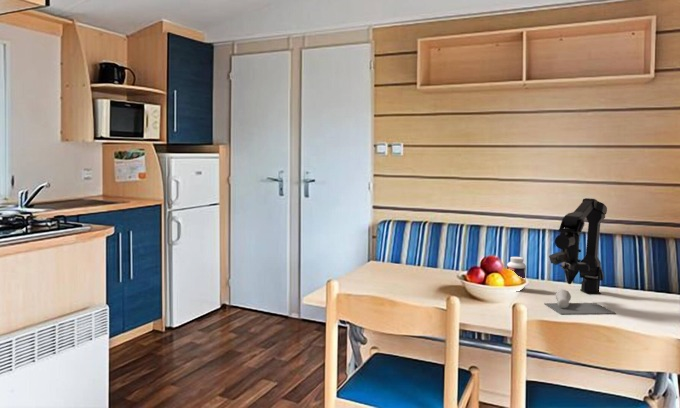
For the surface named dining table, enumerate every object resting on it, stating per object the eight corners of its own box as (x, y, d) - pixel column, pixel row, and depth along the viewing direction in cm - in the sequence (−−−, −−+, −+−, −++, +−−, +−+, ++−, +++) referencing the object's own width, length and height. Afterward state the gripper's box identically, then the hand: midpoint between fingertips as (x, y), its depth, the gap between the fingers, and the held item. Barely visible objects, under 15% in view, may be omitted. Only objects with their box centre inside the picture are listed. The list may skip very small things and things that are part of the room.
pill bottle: (504, 290, 244) (505, 258, 243) (507, 286, 251) (509, 255, 250) (523, 292, 241) (524, 260, 239) (526, 288, 248) (527, 257, 246)
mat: (595, 303, 224) (595, 302, 224) (615, 314, 210) (615, 313, 210) (544, 304, 222) (544, 303, 222) (560, 314, 208) (560, 313, 208)
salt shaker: (557, 286, 226) (557, 294, 215) (572, 290, 225) (573, 299, 213) (554, 299, 228) (553, 308, 216) (568, 303, 226) (568, 313, 214)
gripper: (542, 242, 231) (540, 278, 233) (563, 250, 213) (561, 289, 214) (567, 242, 232) (565, 278, 234) (591, 250, 214) (588, 289, 215)
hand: (569, 283), depth 224 cm, fingers closed
